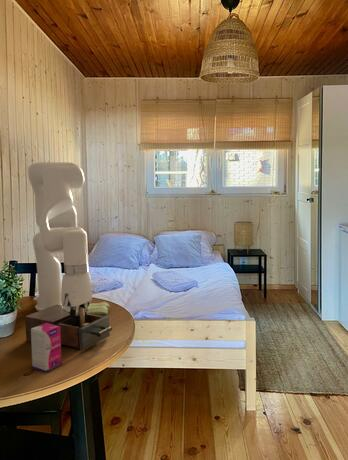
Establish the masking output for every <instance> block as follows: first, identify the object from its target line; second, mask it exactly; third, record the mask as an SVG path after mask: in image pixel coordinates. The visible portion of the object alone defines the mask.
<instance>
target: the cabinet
mask: <svg viewBox="0 0 348 460" xmlns="http://www.w3.org/2000/svg"><path fill="white" fill-rule="evenodd" d="M63 308H64V306H63V305H54V306H51V307H49V308H46V309H43V310H41V311H38V310H37V311H36V312H32V313H29V314H27V315H25V316H24V322H25V323H24V325H25V339H26V342H27V343H28V342H29V343H32V342H31V329H32V328H34V327H37V326H40V325H43V324H45V323H49V324H52V325H55V323H58V322H60V321H62V320H65V319H67V318H69V317H71V315H70V314H69V313H68V312H66V311H63ZM73 309H74V310H75V308H73Z"/></svg>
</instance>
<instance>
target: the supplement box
mask: <svg viewBox="0 0 348 460" xmlns="http://www.w3.org/2000/svg"><path fill="white" fill-rule="evenodd" d="M30 343H31V363H32V364H31V365H32V369H35V370H38V371H41V372H43V373H47V372H49V371H51V370H53V369H55V368H57V367H59V366H61V365H62V344H61V338H60V326H56V325H52V324H49V323H45V324H43V325H40V326H37V327H34V328H32V329H31V342H30Z"/></svg>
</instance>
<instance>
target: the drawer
mask: <svg viewBox="0 0 348 460" xmlns="http://www.w3.org/2000/svg"><path fill="white" fill-rule="evenodd" d="M87 323H89V324H88V325H86V326H84V327H81V328H79V327H76V326H72V322H71V317H69V318H67V319H65V320H62V321H60V322H58V323H55V325H56V326H60V338H61V345H65V346H69V347H72V348H79V351H86V350H87V349H89V348H90V347H92V346H94V345H96V344H98V343H100V342H101V341H103V340H105V339H107V338H109V337H110V336H111V334H110V333H111V332H112V330H113V327H112V326H110V316H109V315H107V316H105V317H102V316H98V315H92V314H87Z"/></svg>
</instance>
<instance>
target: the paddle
mask: <svg viewBox="0 0 348 460" xmlns="http://www.w3.org/2000/svg"><path fill="white" fill-rule="evenodd" d="M78 310H79V314H78V315H80V324H81V326H80V328H81V327H84V326H86V325H88V324H89V323H85V313H84V308H82V307H79V308H78Z"/></svg>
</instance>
